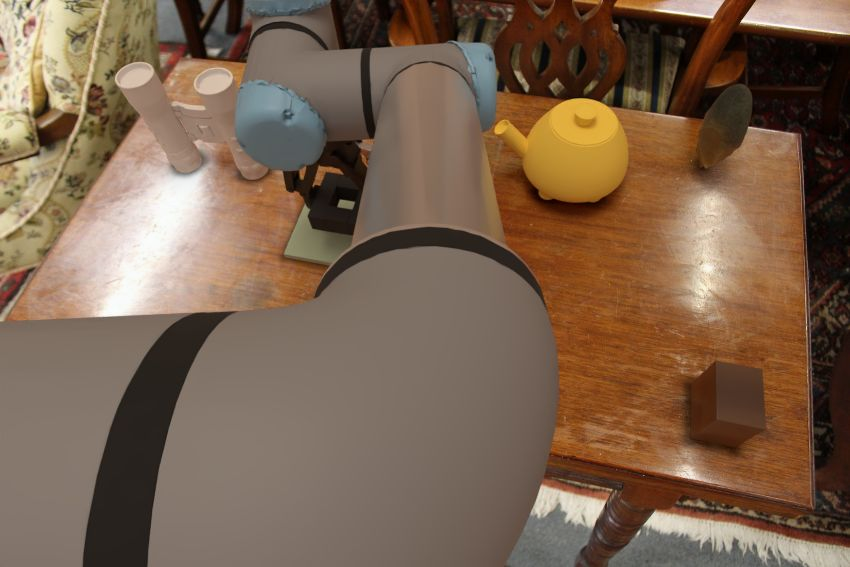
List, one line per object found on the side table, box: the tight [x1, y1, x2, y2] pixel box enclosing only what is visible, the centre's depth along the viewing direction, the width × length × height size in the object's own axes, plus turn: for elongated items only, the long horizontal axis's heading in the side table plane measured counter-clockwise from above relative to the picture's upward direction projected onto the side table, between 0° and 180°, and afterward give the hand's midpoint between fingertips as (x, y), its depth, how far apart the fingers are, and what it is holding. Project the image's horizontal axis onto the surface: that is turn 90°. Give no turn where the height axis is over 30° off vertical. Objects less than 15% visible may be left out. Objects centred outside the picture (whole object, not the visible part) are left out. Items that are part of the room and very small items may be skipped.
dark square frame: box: [307, 171, 362, 236], centre depth 78 cm, size 8×8×3 cm
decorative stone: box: [695, 83, 753, 170], centre depth 80 cm, size 10×6×15 cm, turn 162°
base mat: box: [283, 200, 355, 267], centre depth 83 cm, size 12×18×4 cm, turn 77°
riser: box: [689, 360, 767, 448], centre depth 64 cm, size 7×5×8 cm
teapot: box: [493, 97, 630, 203], centre depth 82 cm, size 20×16×14 cm
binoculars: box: [114, 61, 270, 181], centre depth 85 cm, size 17×5×18 cm, turn 81°
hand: (351, 224), depth 82 cm, fingers closed on dark square frame, 8 cm apart
